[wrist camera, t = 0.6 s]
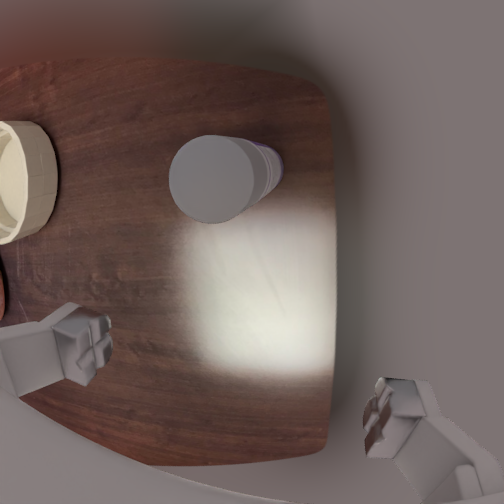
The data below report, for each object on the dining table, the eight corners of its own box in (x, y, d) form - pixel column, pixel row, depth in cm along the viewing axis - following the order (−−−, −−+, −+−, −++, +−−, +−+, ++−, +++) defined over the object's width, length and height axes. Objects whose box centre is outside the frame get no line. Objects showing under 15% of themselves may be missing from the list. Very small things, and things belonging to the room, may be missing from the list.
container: (225, 177, 30) (152, 196, 16) (250, 135, 29) (192, 116, 15) (267, 202, 30) (227, 243, 16) (293, 160, 29) (275, 162, 15)
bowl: (0, 124, 33) (-30, 125, 28) (66, 119, 31) (32, 117, 26) (-2, 224, 38) (-30, 233, 33) (61, 241, 36) (30, 255, 31)
